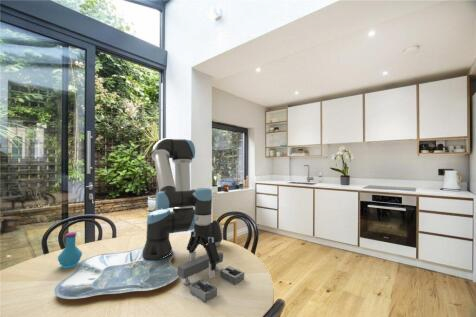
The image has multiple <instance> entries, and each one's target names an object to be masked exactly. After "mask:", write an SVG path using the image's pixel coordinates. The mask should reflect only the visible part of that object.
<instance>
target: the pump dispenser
mask: <svg viewBox="0 0 476 317" xmlns="http://www.w3.org/2000/svg"><path fill="white" fill-rule="evenodd" d="M209 235H210V237H215V244H216V247H218V246H220V245H221V244H222V241H223V233H222V228H221V225H220V222H218V221H217V220H215V219H213V220H211V232H210V234H209ZM207 244H208V243H207ZM207 244H206V245H207Z"/></svg>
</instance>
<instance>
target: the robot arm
mask: <svg viewBox="0 0 476 317" xmlns="http://www.w3.org/2000/svg"><path fill="white" fill-rule="evenodd" d="M195 156H196V147H195V144H194V142H193V141H192V140H190V139H182V138H170V137H169V138H168V137H167V138H162V139H160V140H158V141H157V142H156V143H155V144H154V145H153V147H152V148H151V160H152V161H153V162H154V165H155V166H154V167H155V171H156V172H155V173H156V178H157V184H158V192H156V194H155V207H156V208H157V210H153V211H151V212H149V213H148V214H147V216H146V217H147V218H146V241H145V243H144V244H145V245H144V246H143V249H142V254H141V256H142V258H143V259H144V260H149V261H156V259H159V260H161V259H160V258H163V257H165V256H167V255H169V254H170V253H171V252H172V253H173V247H172V244H171V240H170V234H174V233H175V234H177V233H183V232H186V233H187V232H189V231H191V232H190V236H189V240H188V243H187V246H186V250H187V251H188V252H189V261H191V260H193V259H196V258H197V256H196V255H197V252H196V251H197V250H196V249H197V248H198V246H199V245H201V246H202V247H203V249H204V250H205V251H206V254H207V255H208V257H209V259H210V262H209V268H208V279H212V278H214V277H215V276H216V275H215V273H216V271H215V269H216V266H217V264H216V262H218V261H219V256H218V252H217V251H218V249H217V246H216V244H215V237H210V235H209V234H210V232H211V221H212V207H213V205H212V204H213V192H212V189H211V188H209V187H207V188H206V187H198V188H195V189H191V170H190V168H191V167H190V164H191V163H192V162H193V159H195ZM170 159H171V160H172V161H171V160H170ZM170 161H171V162H172V163H173V164H174V175H173V172H172V171H173V170H172V167H171V162H170ZM170 209H172V211H170ZM207 243H208V244H207ZM212 258H213V259H212ZM163 259H164V258H163Z"/></svg>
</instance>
